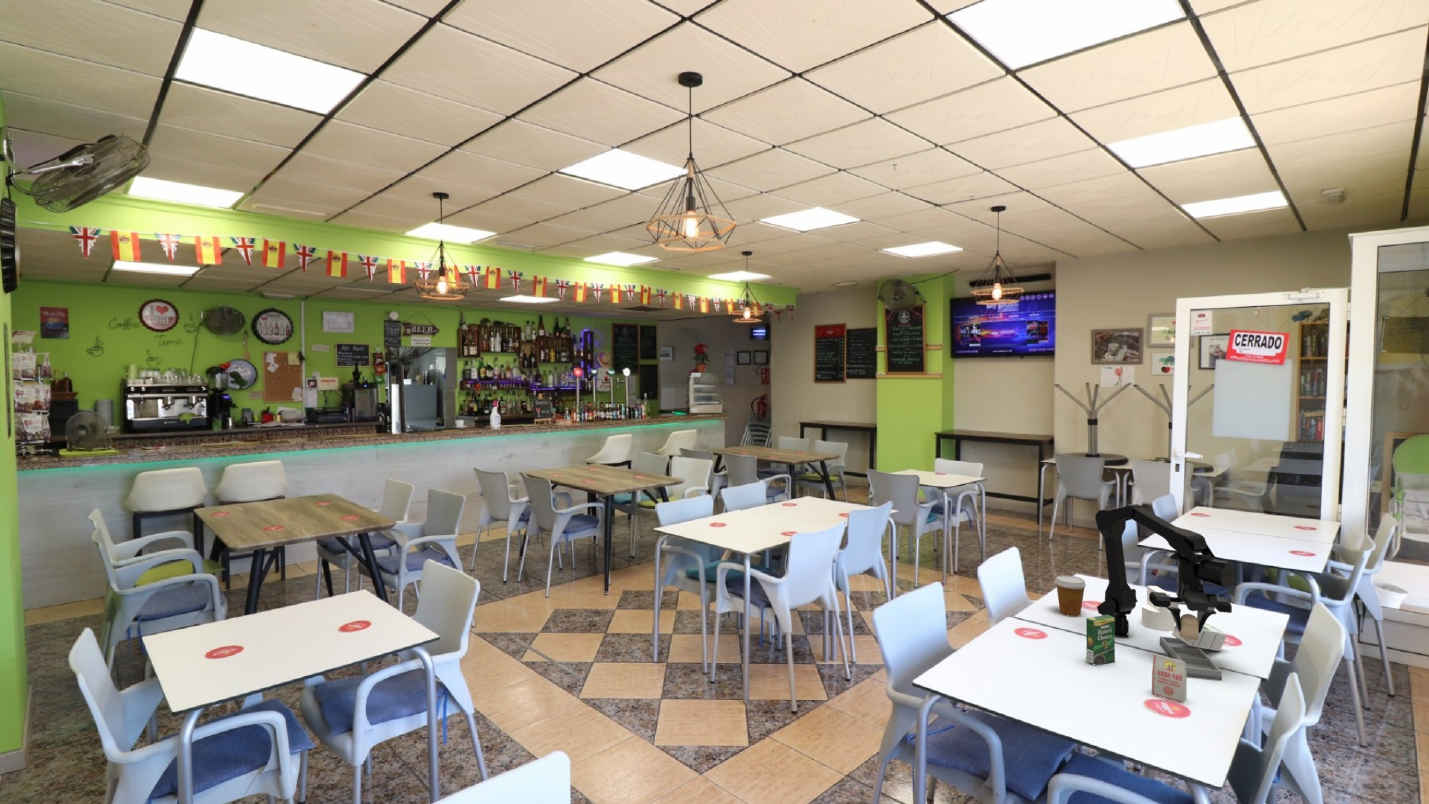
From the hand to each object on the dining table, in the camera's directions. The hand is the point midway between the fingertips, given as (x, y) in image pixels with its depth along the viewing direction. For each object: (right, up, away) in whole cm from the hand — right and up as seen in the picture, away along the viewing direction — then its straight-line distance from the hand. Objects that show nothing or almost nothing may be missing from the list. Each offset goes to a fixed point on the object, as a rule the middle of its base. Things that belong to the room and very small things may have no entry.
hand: (1188, 631), depth 193 cm
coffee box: (-25, -9, 0) cm, 27 cm away
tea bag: (-20, -10, -21) cm, 30 cm away
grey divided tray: (0, -9, 0) cm, 9 cm away
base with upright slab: (+9, -8, +28) cm, 30 cm away
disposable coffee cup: (-13, -8, +40) cm, 43 cm away
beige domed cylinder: (0, -2, 0) cm, 2 cm away
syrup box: (+14, -5, +9) cm, 18 cm away
